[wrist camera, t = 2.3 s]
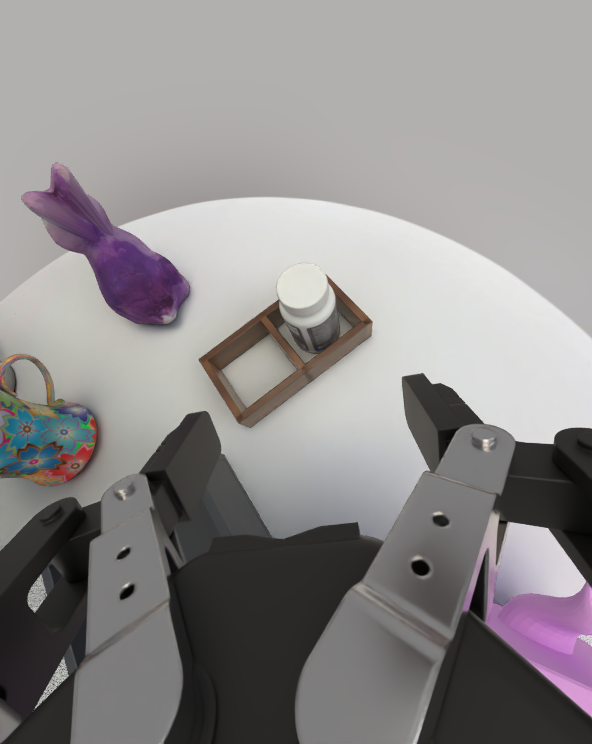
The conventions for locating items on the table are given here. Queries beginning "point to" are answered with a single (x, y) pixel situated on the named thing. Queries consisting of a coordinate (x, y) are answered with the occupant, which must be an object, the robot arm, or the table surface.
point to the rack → (305, 372)
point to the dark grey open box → (191, 534)
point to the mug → (42, 434)
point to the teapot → (552, 638)
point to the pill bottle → (308, 307)
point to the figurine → (109, 252)
